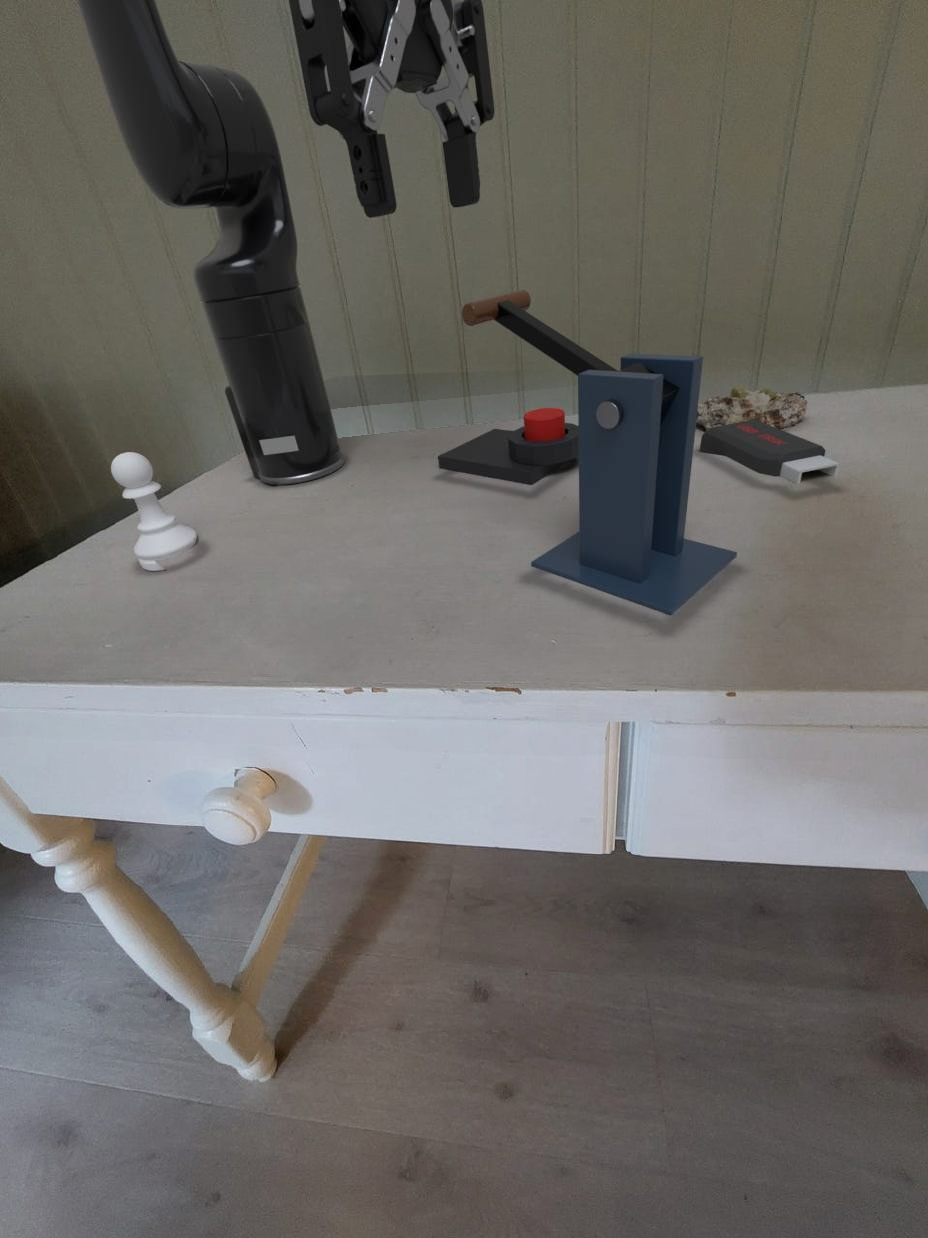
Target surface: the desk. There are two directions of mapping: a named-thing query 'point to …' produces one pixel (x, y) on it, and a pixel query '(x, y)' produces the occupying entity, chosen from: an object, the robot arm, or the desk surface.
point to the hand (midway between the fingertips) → (426, 210)
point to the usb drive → (767, 450)
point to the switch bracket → (637, 487)
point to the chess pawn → (150, 513)
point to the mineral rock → (752, 408)
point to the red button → (544, 424)
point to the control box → (512, 455)
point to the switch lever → (549, 338)
